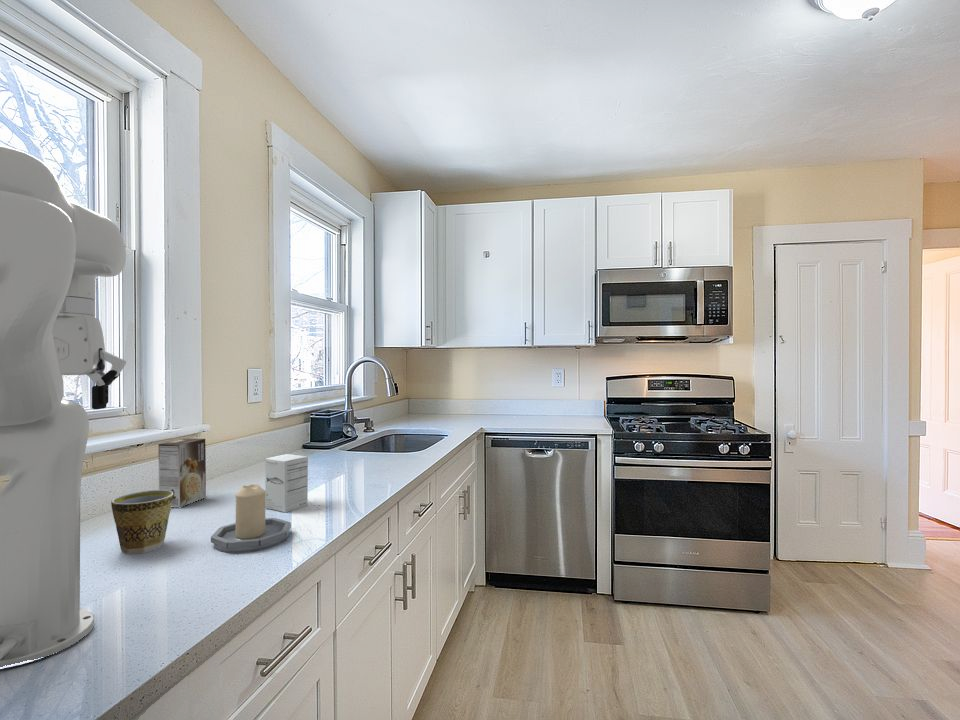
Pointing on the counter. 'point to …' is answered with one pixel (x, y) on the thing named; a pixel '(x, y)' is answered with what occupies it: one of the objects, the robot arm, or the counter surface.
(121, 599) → the counter surface
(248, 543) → the slate dish
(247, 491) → the candle
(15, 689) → the counter surface
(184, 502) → the coffee box
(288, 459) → the supplement box
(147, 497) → the ceramic cup
